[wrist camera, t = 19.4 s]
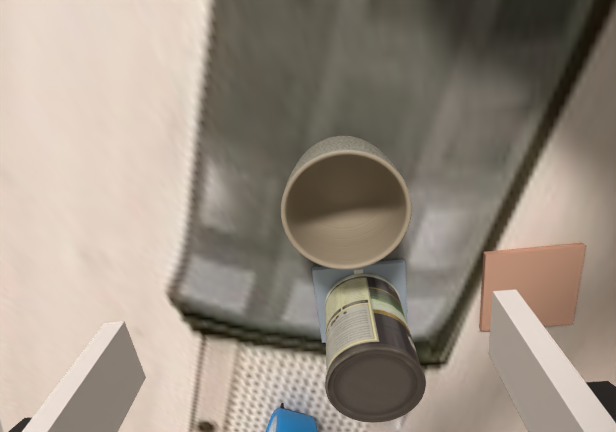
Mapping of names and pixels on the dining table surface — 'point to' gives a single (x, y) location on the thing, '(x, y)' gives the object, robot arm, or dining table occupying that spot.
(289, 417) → the alarm clock
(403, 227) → the planter
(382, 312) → the coffee can
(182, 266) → the dining table surface
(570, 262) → the pad
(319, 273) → the pad
